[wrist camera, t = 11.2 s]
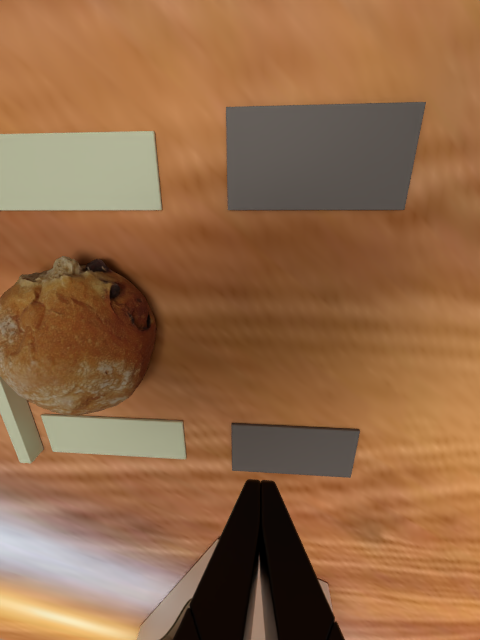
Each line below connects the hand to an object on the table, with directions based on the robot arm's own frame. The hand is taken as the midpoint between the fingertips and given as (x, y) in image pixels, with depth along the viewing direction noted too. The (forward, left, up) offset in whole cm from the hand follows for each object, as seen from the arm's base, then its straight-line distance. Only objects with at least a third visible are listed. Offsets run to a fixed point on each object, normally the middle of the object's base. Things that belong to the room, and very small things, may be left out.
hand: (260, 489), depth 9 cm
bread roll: (+12, 0, -12) cm, 17 cm away
